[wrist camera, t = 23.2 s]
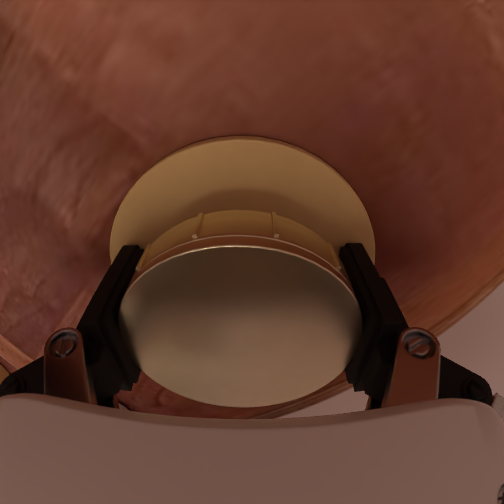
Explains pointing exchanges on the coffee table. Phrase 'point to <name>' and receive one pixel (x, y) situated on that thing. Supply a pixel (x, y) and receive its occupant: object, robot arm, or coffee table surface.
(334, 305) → the jam lid
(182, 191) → the round tan coaster
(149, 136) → the coffee table surface
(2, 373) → the jam jar
